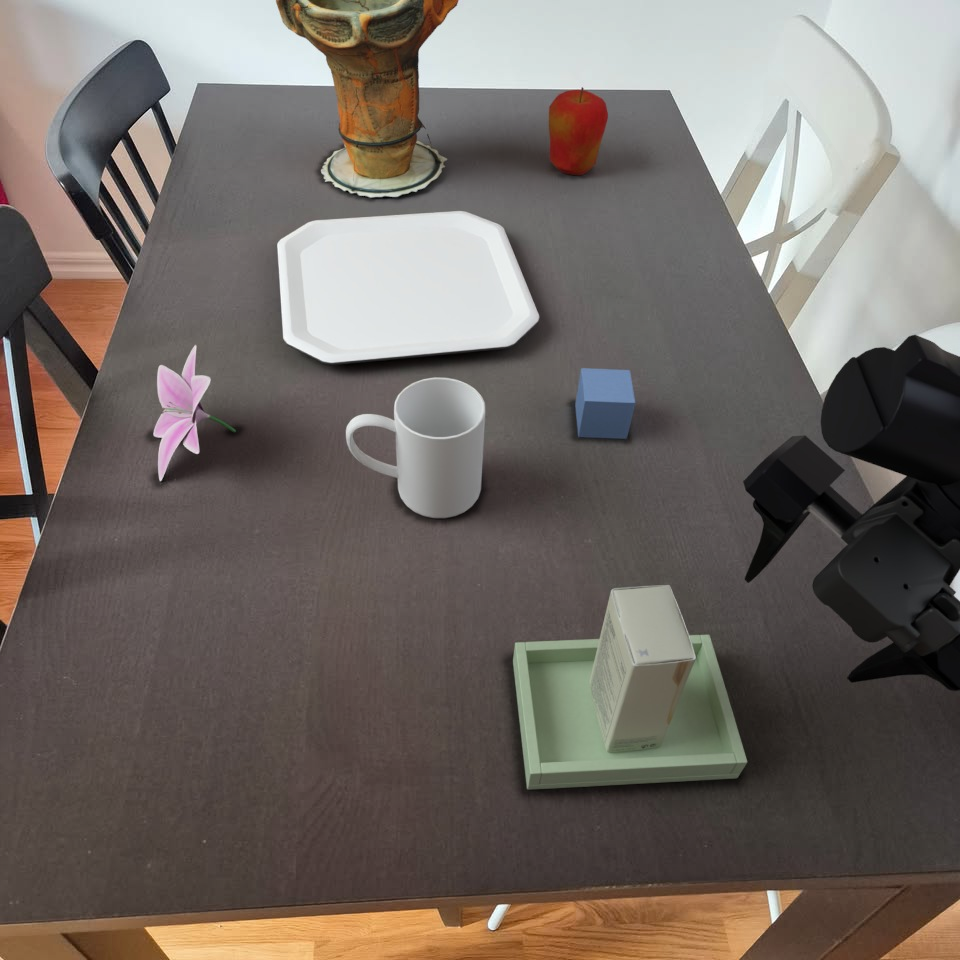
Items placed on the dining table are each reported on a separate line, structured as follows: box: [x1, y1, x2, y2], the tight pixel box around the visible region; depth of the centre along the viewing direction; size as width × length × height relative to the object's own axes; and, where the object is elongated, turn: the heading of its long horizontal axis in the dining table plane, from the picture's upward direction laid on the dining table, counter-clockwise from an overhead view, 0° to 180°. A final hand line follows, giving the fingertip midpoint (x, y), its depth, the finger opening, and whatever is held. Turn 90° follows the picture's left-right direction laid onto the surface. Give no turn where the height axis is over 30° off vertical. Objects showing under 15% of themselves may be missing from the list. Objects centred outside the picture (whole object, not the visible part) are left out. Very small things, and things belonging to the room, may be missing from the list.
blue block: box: [574, 367, 636, 440], centre depth 85 cm, size 5×5×5 cm
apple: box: [548, 87, 609, 176], centre depth 119 cm, size 9×8×12 cm
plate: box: [276, 210, 541, 366], centre depth 100 cm, size 29×29×2 cm
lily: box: [153, 344, 237, 482], centre depth 80 cm, size 12×12×10 cm
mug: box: [345, 377, 486, 519], centre depth 75 cm, size 12×8×10 cm, turn 99°
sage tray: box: [512, 634, 748, 791], centre depth 63 cm, size 16×11×3 cm
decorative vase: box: [275, 0, 459, 199], centre depth 111 cm, size 21×23×28 cm
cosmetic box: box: [589, 584, 696, 752], centre depth 59 cm, size 6×4×12 cm
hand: (798, 626), depth 58 cm, fingers open, 9 cm apart
